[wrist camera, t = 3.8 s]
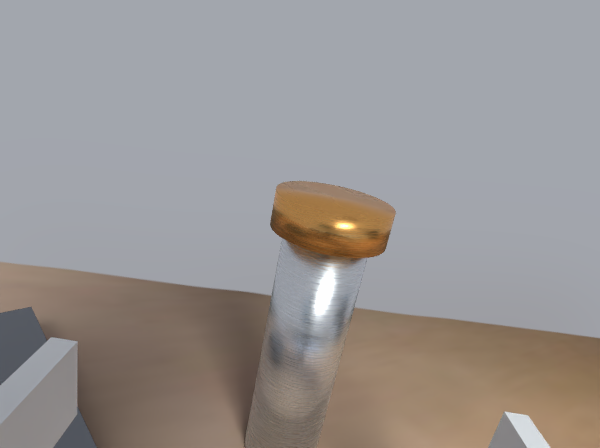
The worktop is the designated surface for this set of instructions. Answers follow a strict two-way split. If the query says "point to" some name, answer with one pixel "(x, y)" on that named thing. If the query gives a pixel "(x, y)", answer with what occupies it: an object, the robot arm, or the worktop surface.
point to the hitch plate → (18, 349)
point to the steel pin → (311, 306)
